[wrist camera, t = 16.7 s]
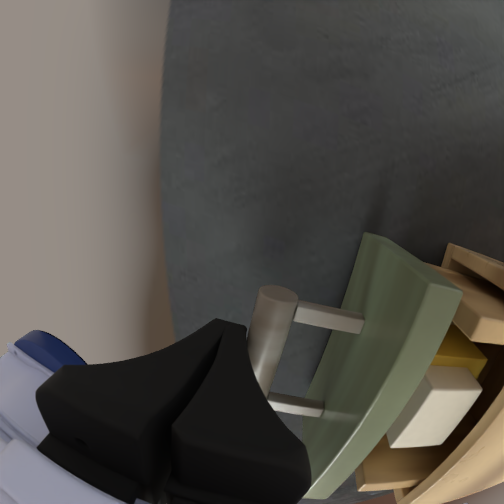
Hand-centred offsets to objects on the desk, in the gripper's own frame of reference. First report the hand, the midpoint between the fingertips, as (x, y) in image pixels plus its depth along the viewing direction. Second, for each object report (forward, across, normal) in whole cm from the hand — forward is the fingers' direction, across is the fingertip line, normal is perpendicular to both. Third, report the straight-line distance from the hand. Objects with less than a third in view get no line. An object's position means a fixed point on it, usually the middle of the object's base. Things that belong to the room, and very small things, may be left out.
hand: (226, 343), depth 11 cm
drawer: (+3, -9, 0) cm, 9 cm away
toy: (+2, -9, 0) cm, 9 cm away
